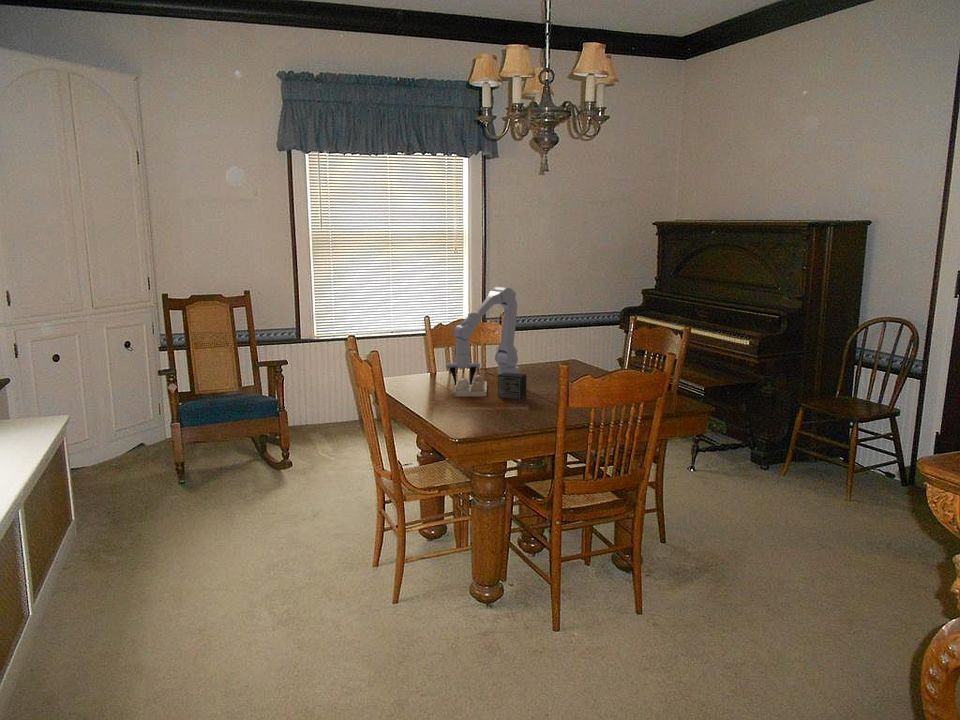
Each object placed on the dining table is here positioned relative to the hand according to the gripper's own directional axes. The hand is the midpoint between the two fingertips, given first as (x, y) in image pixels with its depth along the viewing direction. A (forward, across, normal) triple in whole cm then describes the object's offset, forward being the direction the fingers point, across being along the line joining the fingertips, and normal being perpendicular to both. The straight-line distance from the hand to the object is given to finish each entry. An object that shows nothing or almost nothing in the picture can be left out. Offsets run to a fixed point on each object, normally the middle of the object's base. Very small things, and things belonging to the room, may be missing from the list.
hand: (463, 384), depth 306 cm
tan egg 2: (+3, -6, +7) cm, 9 cm away
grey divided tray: (+4, -3, 0) cm, 5 cm away
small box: (+4, -20, +12) cm, 24 cm away
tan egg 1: (+3, -7, -6) cm, 9 cm away
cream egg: (+3, 0, 0) cm, 3 cm away
